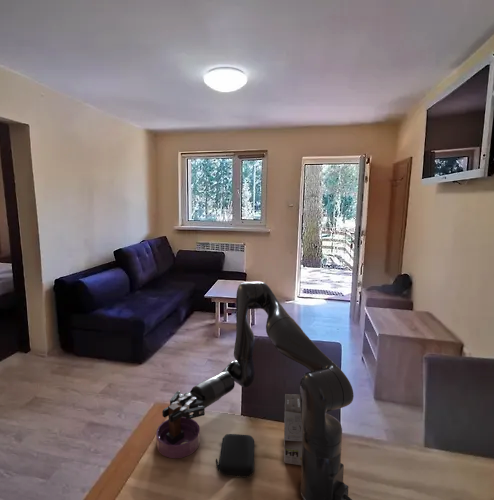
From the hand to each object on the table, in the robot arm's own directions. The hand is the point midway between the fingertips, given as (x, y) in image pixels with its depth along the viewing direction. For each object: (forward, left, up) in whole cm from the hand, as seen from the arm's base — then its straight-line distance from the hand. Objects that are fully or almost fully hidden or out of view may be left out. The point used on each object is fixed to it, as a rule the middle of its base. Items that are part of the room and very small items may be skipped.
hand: (166, 416), depth 100 cm
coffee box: (-30, -24, -10) cm, 39 cm away
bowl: (-2, -3, -10) cm, 10 cm away
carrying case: (-18, -10, -10) cm, 23 cm away
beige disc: (-5, -3, -9) cm, 11 cm away
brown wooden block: (0, -3, -9) cm, 9 cm away
